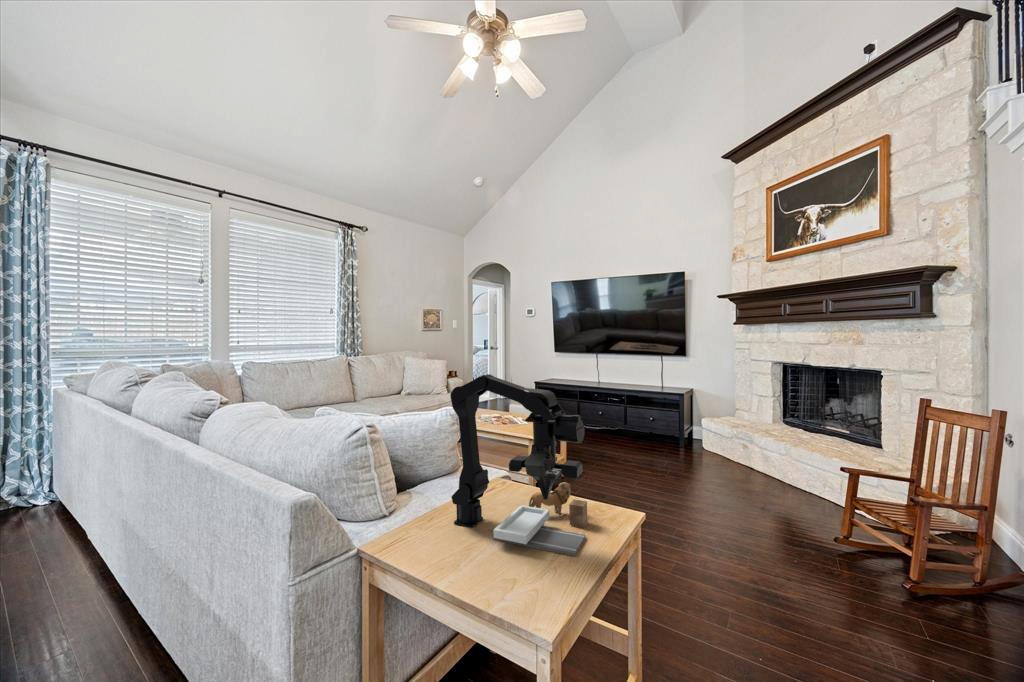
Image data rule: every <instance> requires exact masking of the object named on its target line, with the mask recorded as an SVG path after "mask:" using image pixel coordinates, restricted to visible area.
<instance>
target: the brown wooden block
mask: <svg viewBox="0 0 1024 682" xmlns="http://www.w3.org/2000/svg"><path fill="white" fill-rule="evenodd" d="M568 504H569V507H568V508H569V510H568V511H569V526H570V525H571V527H574V526H577V527H576V528H580V527H583V528H582V529H584V528H585V527H586V525H587V524H588V501H586V500H580V499H572V500H571V502H570V503H568ZM586 523H587V524H586ZM584 526H585V527H584Z"/></svg>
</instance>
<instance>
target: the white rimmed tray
mask: <svg viewBox="0 0 1024 682" xmlns="http://www.w3.org/2000/svg"><path fill="white" fill-rule="evenodd" d="M550 514H551V511H550V509H546V508H542V507H541V508H536V506H534V507H529V505H522V504H521V505H519V506H518V507H517V508H516V509H514V511H512V512H511V513H510V514H509V515H508V516H507V517H506V518H505V519H504V520H503V521H501V522H500V524H498V525H497V526H496V527H495V528H494V529H493V539H494V538H498V539H503V540H508V541H513V542H517V543H522V544H527V543H529V542H530V541H531V539H532V537H533V536H534V535H535V533H536V532H537V531H538V530H539V529H540V528H541V527H544V526H545V523H546V522H547V521H548V520H549V519H550V517H551V516H550Z"/></svg>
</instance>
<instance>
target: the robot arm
mask: <svg viewBox="0 0 1024 682" xmlns="http://www.w3.org/2000/svg"><path fill="white" fill-rule="evenodd" d="M487 392H490V393H492V394H496V395H498V396H500V397H504V398H507V399H509V400H511V401H514V402H517V403H519V404H520V405H522V407H523V408H524V409H526V410H527V411H529V412H530V413H529V415H528V417H526V418H525V420H524V421H525V422H526V423H532V433H533V434H532V437H533V438H532V439H533V441H532V443H533V444H531V451H530V454H529V455H516V456H515V457H513V458H511V459H510V460H509V462H508V471H509V472H516V473H520V472H521V471H522V470H523V468H525V473H526V475H527V476H529V477H532V478H533V479H534V480H535V481H536V482H537V485H538V488H539V490H540V492H541V493H542V495H543V498H544V499H545V500H547V499H548V497H549V495H550V493H552V489H553V486H554V483H555V480H556V479H557V478H558V477H560V475H562V476H563V477H564V478H569V479H577V478H579V477H580V476H581V474H582V473H583V469H584V468H583V463H582V462H581V461H579V460H571V459H569V460H568V459H567V460H566V461H565V462H563V463H558V462H557V461H558V457H557V456H556V447H557V441H559V442H566V443H576V444H582V442H583V441H584V439H585V429H586V428H585V425H584V423H583V420H582V417H581V415H580V414H574V415H571V414H566V412H565V410H564V409H563V408H562V406H561V405H560V404H559V402H558V400H557V397H556V394H555V393H554V392H553V391H552V390H547V389H541V388H531V387H530V388H529V387H525V386H523V385H519V384H516V383H513V382H511V381H507V380H506V379H505V380H504V379H502V378H498V377H497V376H493V374H491V373H490V374H489V373H488V374H481V375H478V377H476V378H475V379H473V380H471V381H469V382H467V383H465V384H464V385H460V386H456V387H454V388H453V389H452V390H451V391H450V401H451V406H452V409H453V410H454V412H455V414H456V415H457V418H458V424H459V426H458V427H459V437H460V446H461V459H462V469H461V471H460V475H459V480H458V489H457V490H456V491H455V492H454V493H453V494H452V495H451V496H450V497H451V501H452V504H454V505H456V506H455V507H456V519H455V520H454V521H453V525H459V526H464V527H469V528H474V527H475V526H476V525H478V524H479V523H480V522H481V521H482V520H483V519H484V516H483V515H482V514H483V512H482V510H483V509H482V508H483V507H482V505H481V498H482V497H483V496H484V493H485V492H486V490H487V489H488V486H489V484H490V480H489V470H488V469H484V468H483V466H482V465H481V463H480V462H481V461H480V451H479V440H478V439H479V438H478V428H477V420H476V413H477V411H478V408H479V405H480V397H481V396H483V395H484V394H485V393H487ZM556 439H557V441H556Z"/></svg>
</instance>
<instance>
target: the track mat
mask: <svg viewBox="0 0 1024 682" xmlns="http://www.w3.org/2000/svg"><path fill="white" fill-rule="evenodd" d="M586 538H587V536H586V534H582V533H577V532H570V531H566V530H559V529H553V528H550V527H544V526H543V527H541V528H540V529H539V530H538V531H537V532H536V533H535V535H534V536H533V537H532V539H531V541H530V542H529V543H527V544H522V543H517V542H513V541H508V540H503V539H498V538H494V537H493V540H495V541H498V542H504V543H509V544H512V545H513V544H514V545H518V546H524V547H528V548H533V549H538V550H542V551H548V552H553V553H556V554H557V553H558V554H561V555H567V556H570V557H571V556H572V557H576V555H577V553H578V552H579V550H580V549H581V547H582V545H583V543H584V541H585V540H586Z"/></svg>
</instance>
